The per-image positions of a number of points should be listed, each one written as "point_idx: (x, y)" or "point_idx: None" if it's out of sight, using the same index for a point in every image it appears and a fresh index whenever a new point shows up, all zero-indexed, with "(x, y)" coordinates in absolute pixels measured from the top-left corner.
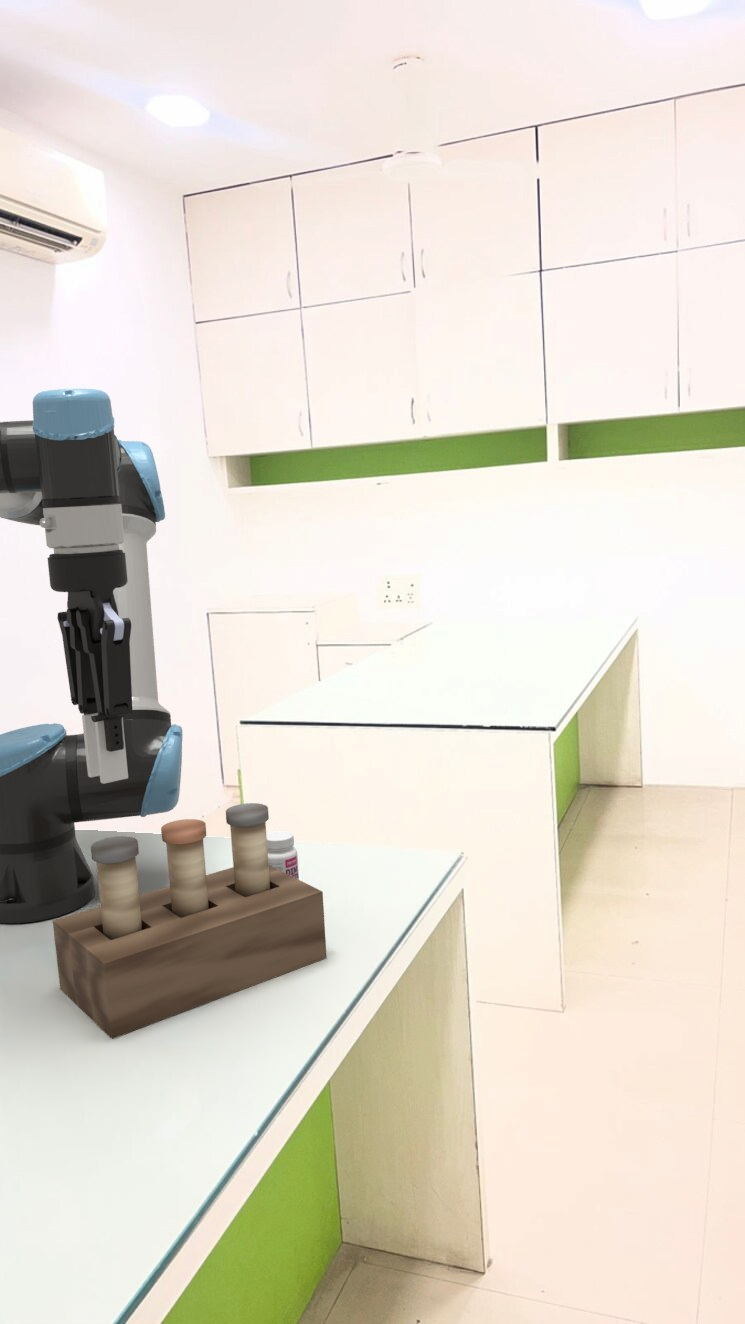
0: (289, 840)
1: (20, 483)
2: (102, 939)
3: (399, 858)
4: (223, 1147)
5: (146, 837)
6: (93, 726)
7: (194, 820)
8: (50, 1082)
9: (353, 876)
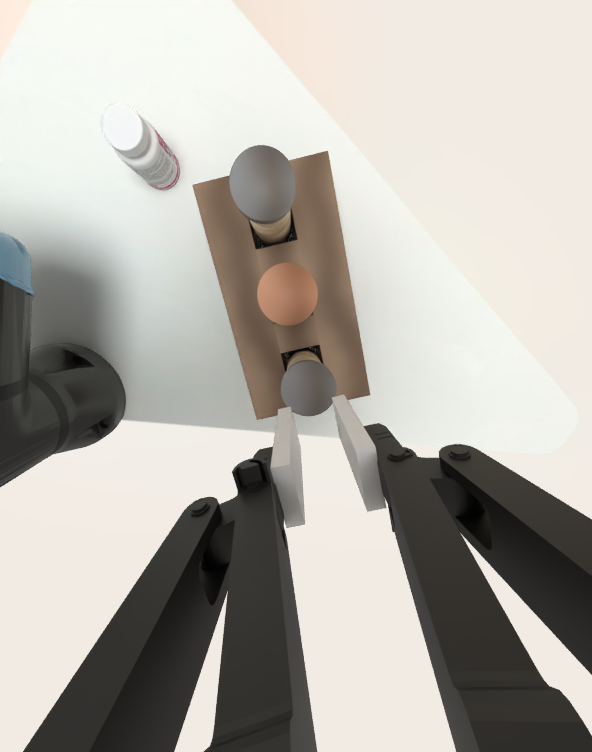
0: (140, 117)
1: None
2: None
3: None
4: (509, 345)
5: None
6: (299, 487)
7: (271, 273)
8: (385, 420)
9: (137, 61)
